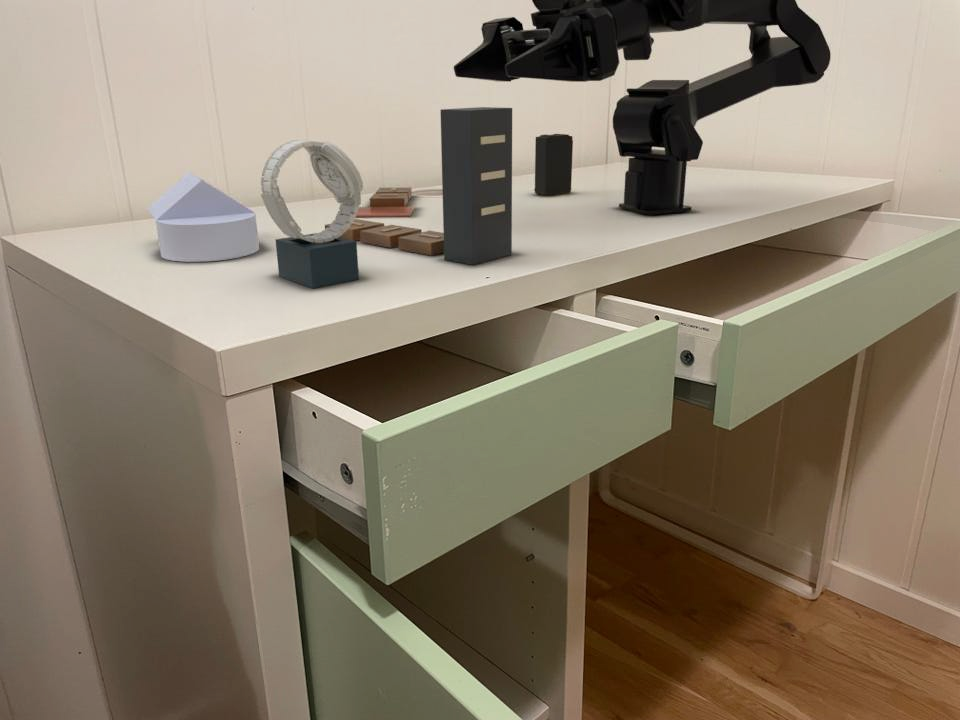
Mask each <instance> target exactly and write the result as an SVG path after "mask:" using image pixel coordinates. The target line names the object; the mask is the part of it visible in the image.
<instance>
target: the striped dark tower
mask: <svg viewBox="0 0 960 720" xmlns="http://www.w3.org/2000/svg"><path fill="white" fill-rule="evenodd" d="M440 144H441V145H440V149H441V150H440V151H441V186H442V187H441V188H442V189H441V190H442V224H443V225H442V227H443V228H442V230H443V233H444V253H443V258H444V261H449V262H454V263H460V264H465V265H471V266H475V265H479V264H483V263H486V262H489V261H493V260H497V259H500V258H504V257H508V256H511V255H513V253H512V252H513V251H512V250H513V249H512V248H513V247H512V245H513V243H512V241H513V107H495V106H491V107H490V106H488V107H486V106H480V107H479V106H478V107H477V106H476V107H462V108H461V107H459V108H458V107H457V108H441V109H440Z"/></svg>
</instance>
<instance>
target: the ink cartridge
mask: <svg viewBox="0 0 960 720" xmlns="http://www.w3.org/2000/svg"><path fill="white" fill-rule="evenodd" d="M573 149H574V140H573V136H572V135H570V134H566V133H553V134H540V135H539V136H535V149H534V151H535V152H534V153H535V155H534V156H535V157H534V188H533V191H534V193H535V194H536V195H539V196H545V197H551V196H552V197H553V196H559V195H566V194H571V192H572V179H573V178H572V175H573Z"/></svg>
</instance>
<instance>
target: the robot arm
mask: <svg viewBox="0 0 960 720" xmlns="http://www.w3.org/2000/svg"><path fill="white" fill-rule="evenodd" d="M531 2H532V4H533V5H534V7H535V9H537V11H535V12H532V13H530V18H531V22H532V23H531V24H532V26H533V27H535V28H533V29H524V26H523V23H522V22H521V21H520V20H518V19H517V18H516V17H514V16H510V17H500V18H495V19H492V20H489V21H485V22H483V23H482V25H481V28H480V29H481V34H482V39H483V40H482V42H481V44H480V45H478V46H477V47H476V48H474V50H472V51H471V52H469V54H467V55H466V56H465V57H463V58H462V59H461V60H459V61H458V62H457V63H456V64H454V65H453V71H454V76H455V77H457V78H461V79H462V78H464V79H471V80H472V79H473V80H481V81H482V80H483V81H491V82H497V83H498V82H499V83H500V82H501V83H502V82H506V83H507V82H512V81H515V80H520V79H532V80H548V81H557V82H569V83H573V82H574V83H579V82H580V83H584V82H585V83H586V82H602V81H603V80H606V79H609V78H611V77H613V76H615V74H616V72H617V70H618V67H619V65H620V57H619V51H620V50H622V54H623V59H624V61H648V60H649V59H650V57H651V55H652V51H653V48H652V46H653V44H654V42H655V39H654V37H652V35H651V34H660V33H672V32H673V33H674V32H675V33H676V32H683V31H687V30H691V29H695V28H699V27H701V26H703V25H706V24H707V25H747V27H748V29H749V32H750V33H749V40H748V41H749V43H748V50H749V52H750V55H751V56H750V58H749V59H746V60H744V61H741V62H739V63H736V64H734V65H731V66H728V67H726V68H724V69H722V70H719V71H717V72H714V73H711V74H709V75H707V76H703V77H702V78H699V79H697V80H695V81H692V82H690V79H652V80H648V81H647V82H645V83H643V84H641V85H640V86H639V87H636V88H633V87H632V88H626V92H627V94H626V95H624V96H622V97H621V98H619V99H618V100H617V102H616V107H615V109H614V111H613V116H612V129H613V133H614V136H615V141H616V145H617V149H618V154H619V156H620V157H623V158H625V157H629V158H628V168H627V170H626V171H625V174H624V190H623V191H624V193H623V194H624V195H623V202H622V203H621V202H620V203H618V208H619V209H624V210H629V211H631V212H635V213H640V214H644V215H649V216H650V215H661V214H671V213H673V214H674V213H682V212H683V213H684V212H691V211H692V209H693V207H692V206H691V205H686V204H685V203H684V202H685V190H686V179H687V164H688V162H691V161H695V160H699V157H700V154H701V151H702V148H703V145H704V141H703V139H702V138H701V136H700V134H699V132H698V131H697V130H696V125H697V123H698V122H699V121H700V120H702V119H705V118H707V117H709V116H712V115H714V114H716V113H718V112H721V111H723V110H725V109H727V108H731V107H733V106H734V105H737V104H738V103H741V102H744V101H746V100H748V99H751V98H753V97H756V96H757V95H760V94H762V93H764V92H767V91H769V90H771V89H773V88H782V87H794V86H802V85H809V84H815V83H817V82H819V81H820V80H821V79H822V78H823V77H824V75H825V72H826V71H827V70H828V67H829V66H830V63H831V49H830V47H829V44H828V42H827V40H826V38H825V36H824V32H823V31H822V29H821V25H819V23H817V22H816V21H815V20H814V19H813V18H812V17H811V16H810V15H808V14H807V13H806V12H805V11H804V10H802V9H801V7H799V5H798V3H797V0H531ZM770 26H771V27H772V26H778V28H779V30H780V32H782V33H783V34H784V35H785V36H775V37H771V35H770V33H769V31H768V27H770ZM655 148H663V149H655Z"/></svg>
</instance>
